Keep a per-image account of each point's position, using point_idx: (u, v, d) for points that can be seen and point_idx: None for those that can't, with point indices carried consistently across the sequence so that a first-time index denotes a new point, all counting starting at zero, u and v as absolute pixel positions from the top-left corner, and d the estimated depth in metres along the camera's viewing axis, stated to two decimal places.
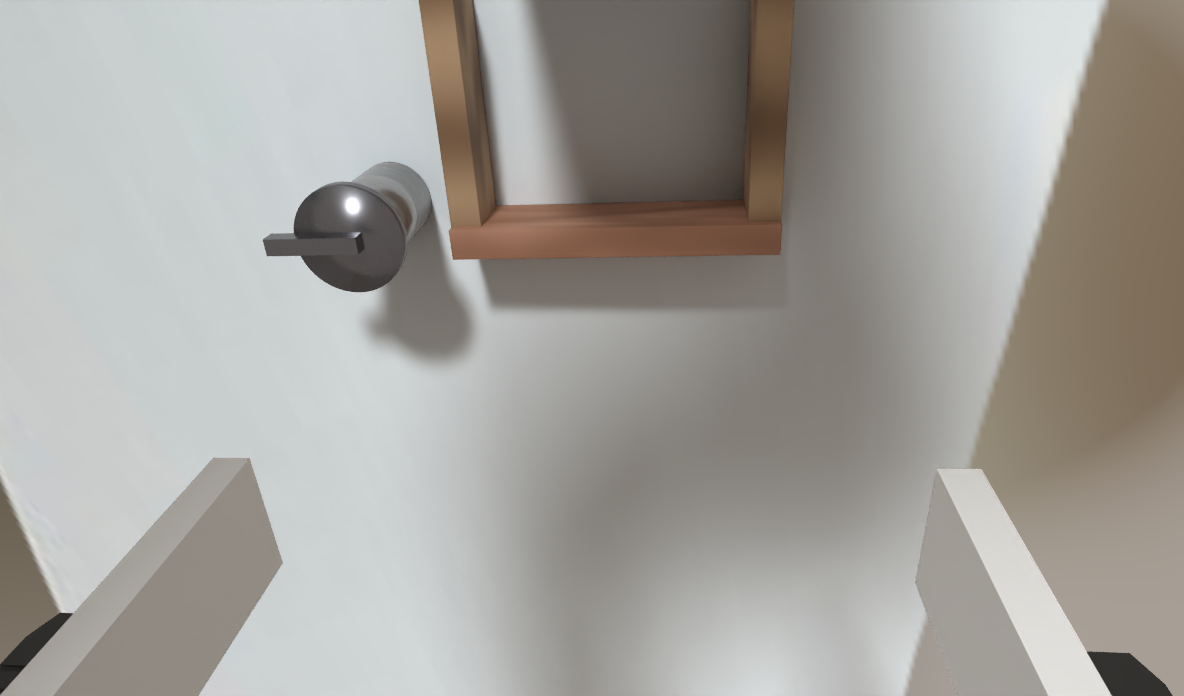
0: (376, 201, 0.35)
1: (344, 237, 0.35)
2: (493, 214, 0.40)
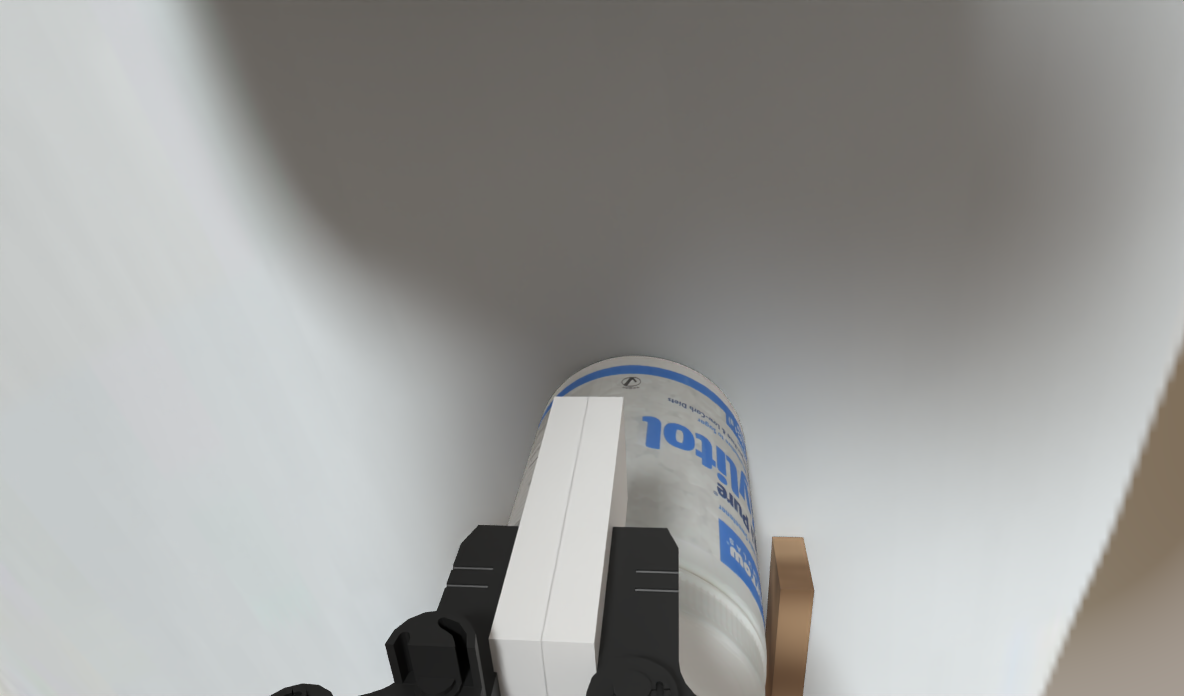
0: None
1: None
2: None
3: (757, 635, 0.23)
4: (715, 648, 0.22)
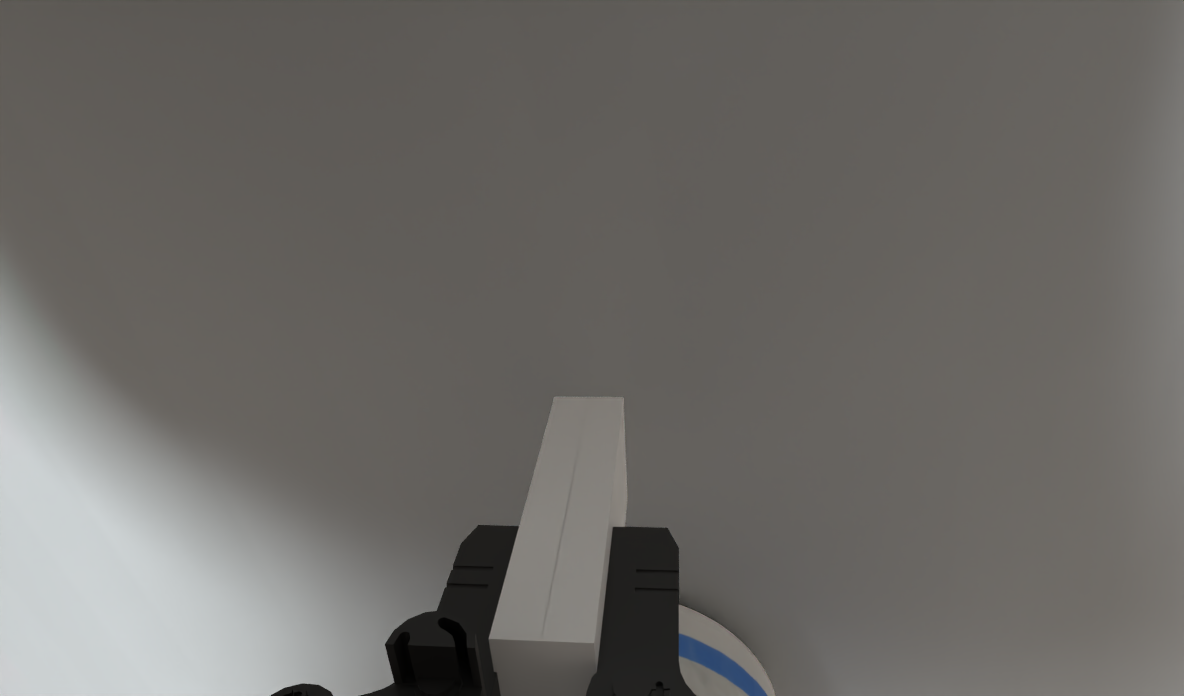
0: None
1: None
2: None
3: None
4: None
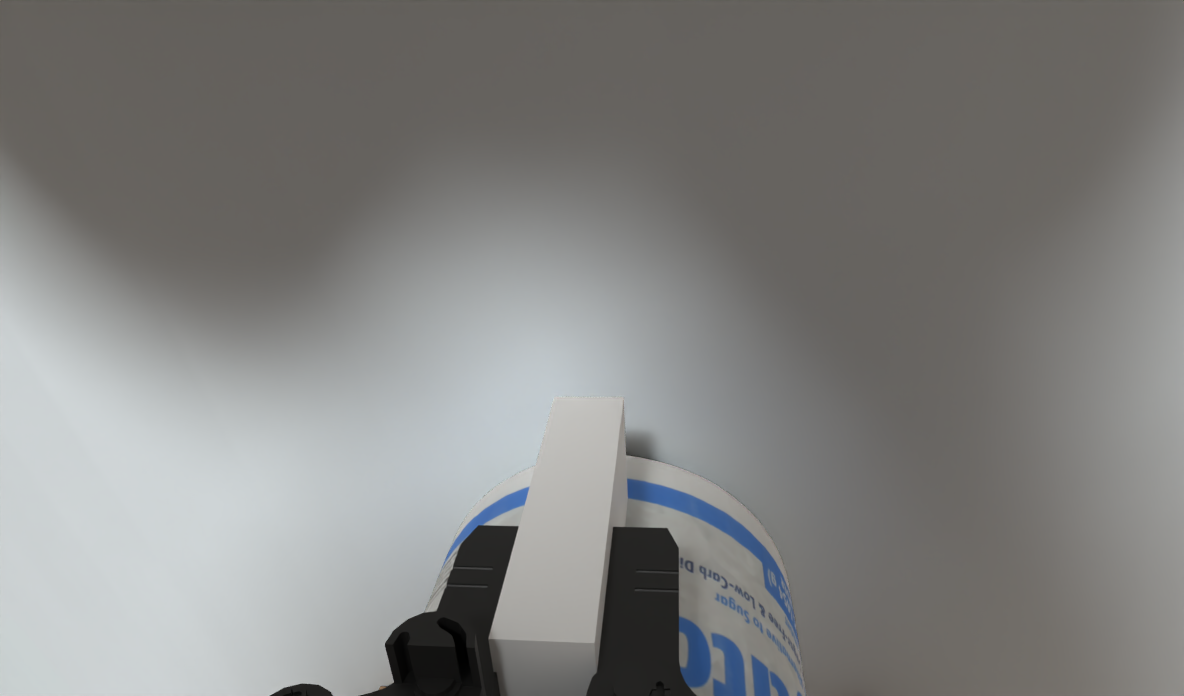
0: None
1: None
2: None
3: None
4: None
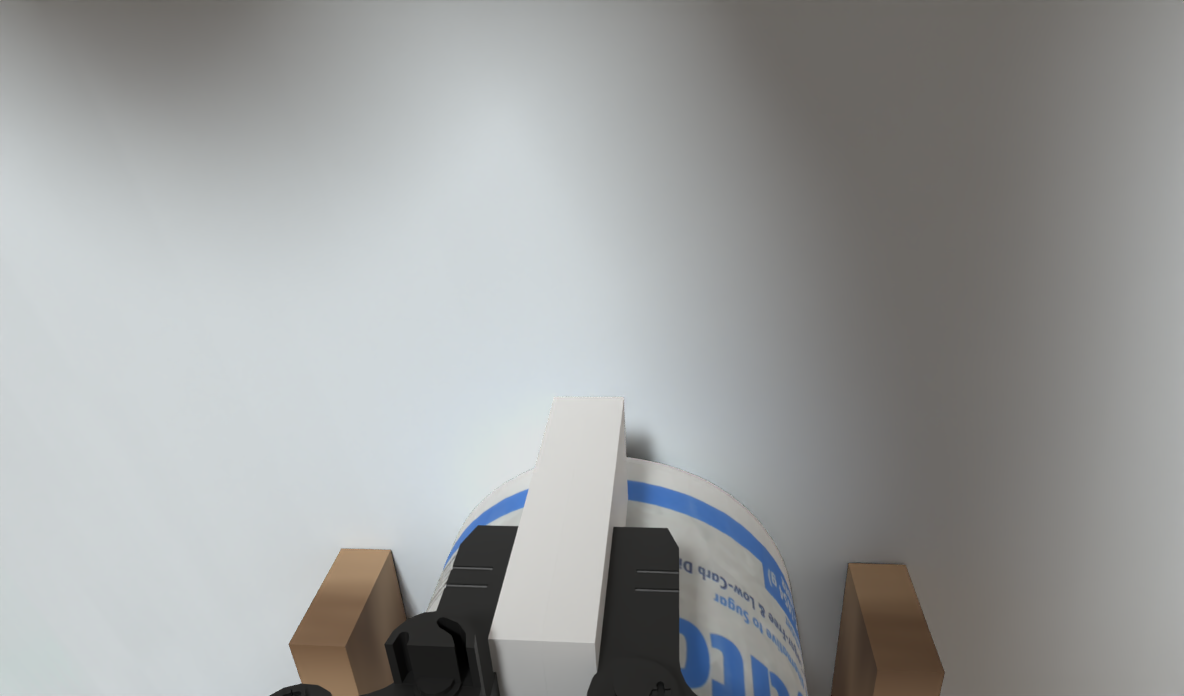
0: None
1: None
2: None
3: None
4: None
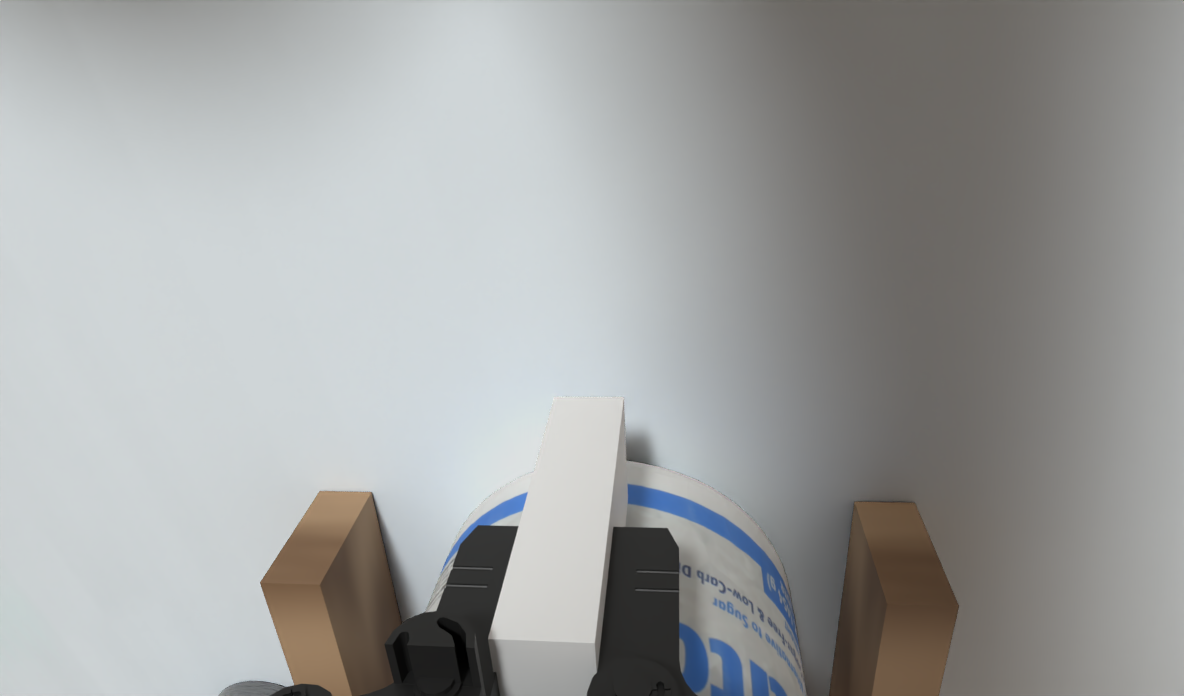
0: None
1: None
2: None
3: None
4: None
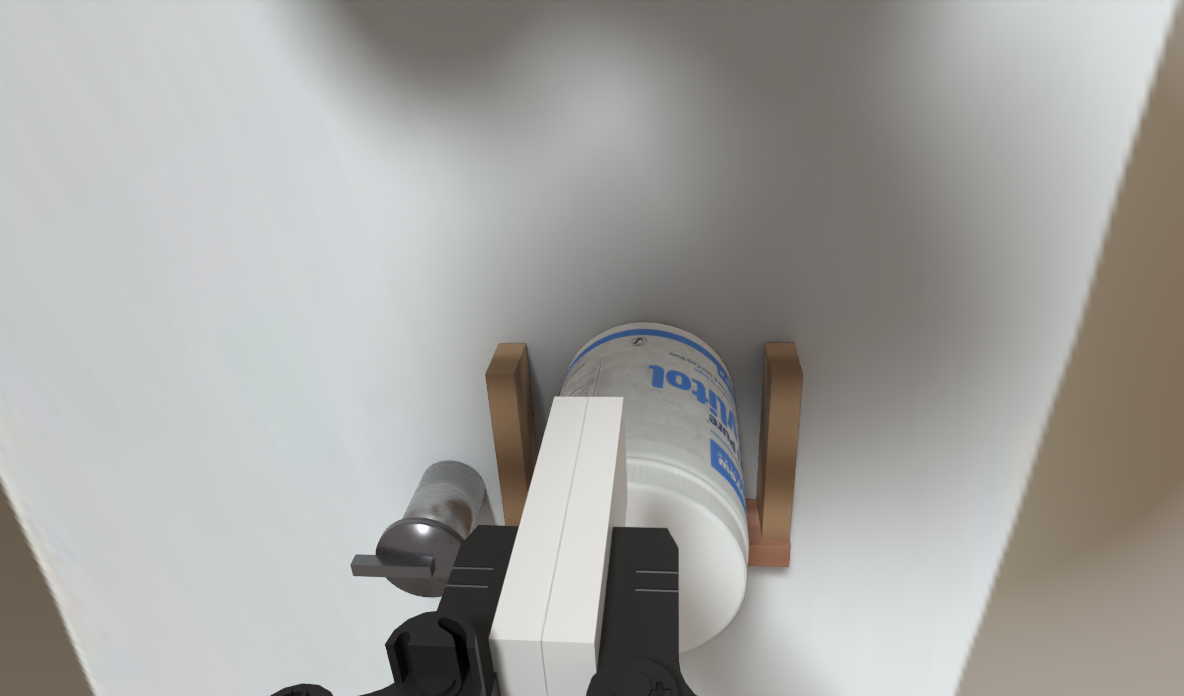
0: (448, 537, 0.41)
1: (420, 565, 0.41)
2: None
3: (740, 520, 0.30)
4: (706, 524, 0.29)
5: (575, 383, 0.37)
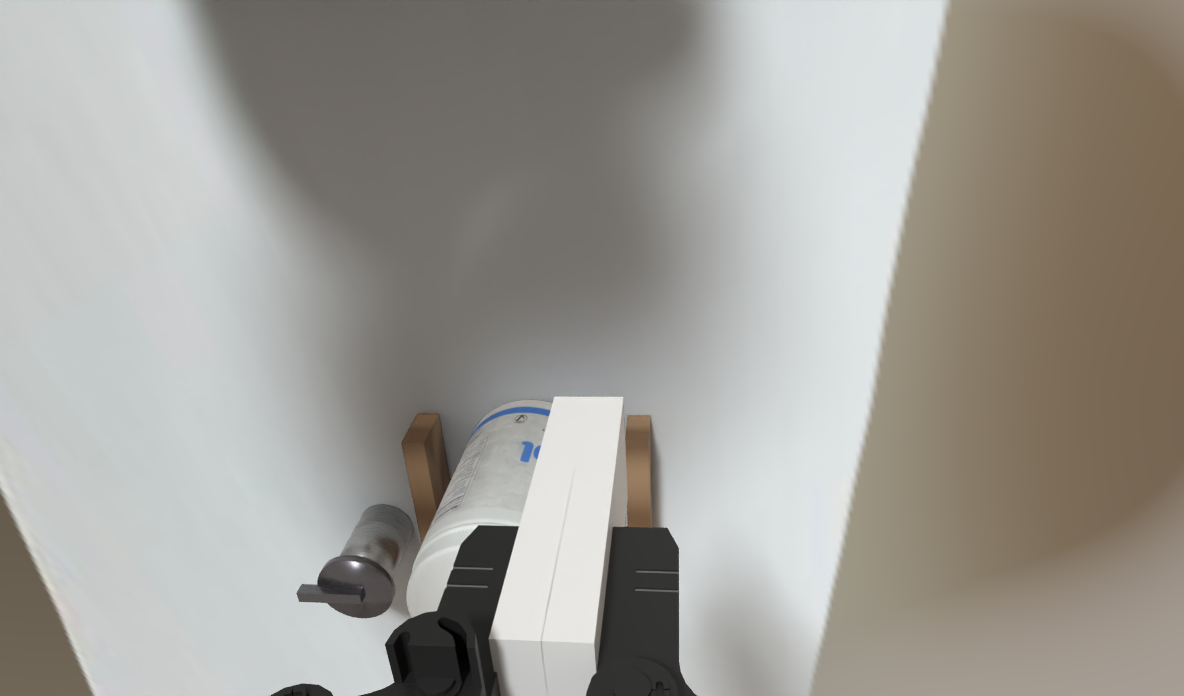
0: (373, 571, 0.51)
1: (351, 593, 0.51)
2: None
3: None
4: None
5: (468, 453, 0.48)
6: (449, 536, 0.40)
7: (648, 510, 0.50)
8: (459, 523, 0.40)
